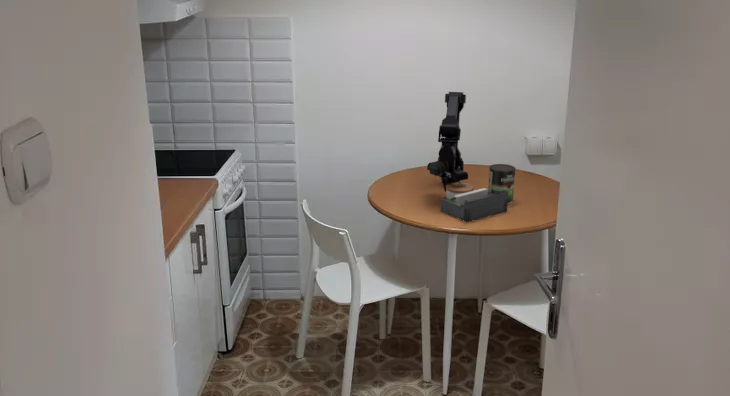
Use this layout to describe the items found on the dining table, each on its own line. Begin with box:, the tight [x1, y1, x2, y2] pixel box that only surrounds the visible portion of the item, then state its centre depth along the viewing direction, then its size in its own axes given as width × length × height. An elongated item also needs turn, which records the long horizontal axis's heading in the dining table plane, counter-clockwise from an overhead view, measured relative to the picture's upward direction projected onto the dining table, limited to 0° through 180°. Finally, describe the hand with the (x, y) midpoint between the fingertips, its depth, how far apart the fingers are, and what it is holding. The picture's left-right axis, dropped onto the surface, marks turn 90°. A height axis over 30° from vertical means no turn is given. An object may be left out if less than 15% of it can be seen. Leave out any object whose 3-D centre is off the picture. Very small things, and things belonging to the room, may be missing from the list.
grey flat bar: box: [451, 187, 488, 205], centre depth 274 cm, size 18×2×6 cm, turn 125°
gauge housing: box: [439, 188, 508, 223], centre depth 273 cm, size 21×15×8 cm
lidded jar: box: [445, 181, 474, 199], centre depth 279 cm, size 11×11×9 cm
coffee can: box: [487, 163, 516, 206], centre depth 283 cm, size 10×10×14 cm
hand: (446, 191), depth 286 cm, fingers closed
